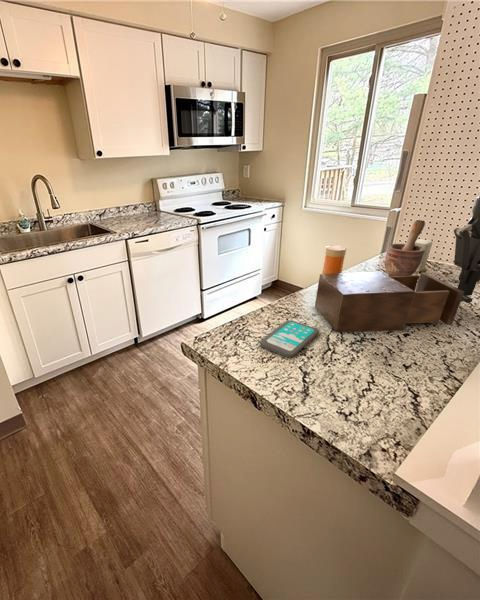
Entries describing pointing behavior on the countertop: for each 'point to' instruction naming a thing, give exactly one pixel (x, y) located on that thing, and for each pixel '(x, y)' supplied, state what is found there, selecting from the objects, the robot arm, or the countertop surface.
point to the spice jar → (334, 259)
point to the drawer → (432, 299)
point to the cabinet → (363, 301)
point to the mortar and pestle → (405, 254)
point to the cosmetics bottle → (427, 246)
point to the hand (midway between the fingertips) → (463, 293)
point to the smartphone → (289, 338)
